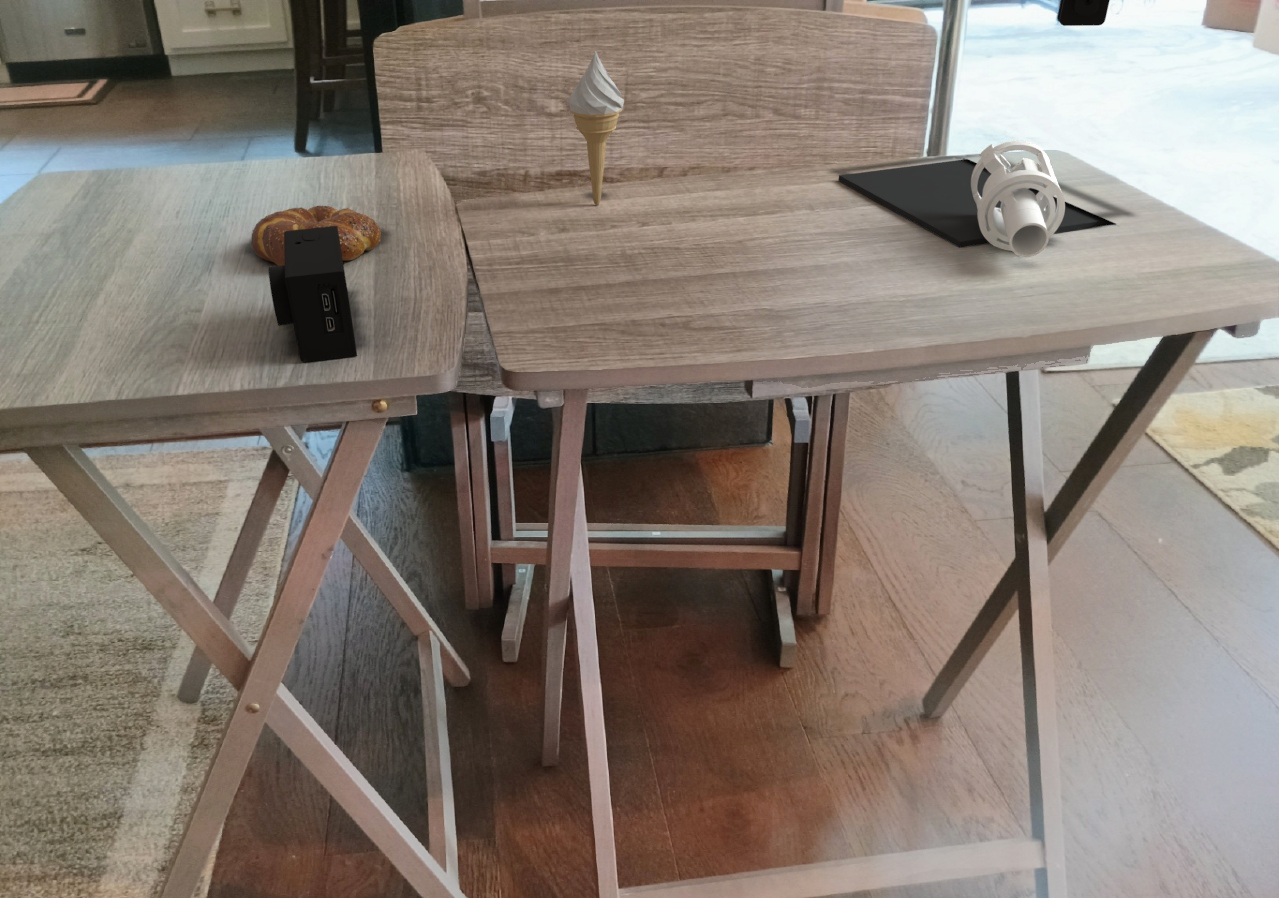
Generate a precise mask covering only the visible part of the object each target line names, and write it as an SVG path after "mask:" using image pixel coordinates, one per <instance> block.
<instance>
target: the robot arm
mask: <svg viewBox="0 0 1279 898" xmlns="http://www.w3.org/2000/svg"><path fill="white" fill-rule="evenodd" d="M1110 1H1111V0H1060V2H1059V7H1058V12H1057V16H1056V18H1057V19H1056V20H1057V21H1058V22H1059V24H1060V25H1062V26H1064V27H1066V26H1067V27H1075V26H1076V27H1078V26H1079V27H1080V26H1081V27H1083V26H1087V27H1089V26H1094V27H1095V26H1102V25H1103V24H1104V23H1105V22H1106V18H1107V14H1108V9H1109V5H1110Z"/></svg>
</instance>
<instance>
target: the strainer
mask: <svg viewBox="0 0 1279 898" xmlns="http://www.w3.org/2000/svg"><path fill="white" fill-rule="evenodd" d="M1013 151H1023V152H1029V153H1031V154H1033V155H1035V156H1036V157H1037V160H1038V162H1036V161H1035V160H1034V159H1031V158H1027V157H1022V160H1021V161H1019V162H1017V163H1016V164H1014V166H1012V165H1011V163H1010V162H1009V161H1008V159H1006V157H1005V156H1003V155H1002V154H1004V153H1009V152H1013ZM980 155H981V157H980V159H979V160H978V161H977V162H976V163H977V164H976V166H975V168H974V170H973V173H972V177H971V190H972V194H973V198H974V200H975V202H976V204H977V209H978V213H977V215H978V222H979V227H980V230H981V232H982V234H983V236H984V237H985V238H986V240H987V241H988V242H990V243H989V244H991V245H992V246H993V247H996V248H998V249H1001V250H1004V251H1010V252H1012V253H1013V254H1014V255H1016V256H1018V257H1021V258H1030V257H1034V256H1036V255H1039V254H1040V253H1042V252H1043V251H1044V250H1045V249H1046V247H1047V246H1048V243H1049V242H1050V241H1049V240H1050V238H1051V237H1052V236H1053V235H1054V234H1055V233H1054V232H1055V231H1056V230H1057V229H1058V227H1059V226H1060V224H1061V222H1062V219H1063V217H1064V213H1065V202H1066V200H1065V197H1064V194H1063V191H1062V189H1061V186H1060V185H1059V182H1058V179H1057V177H1056V174H1055V173H1054V169H1053V166H1052V163H1051V160H1050V158H1049V156H1048V154H1047V153H1046V152H1045V150H1044V149H1043V148H1042V147H1040V146H1039V145H1037V144H1035V143H1034V142H1030V141H1026V140H1010V141H1006V142H1002V143H1000V144H997V145H995V146H994V145H993V144H990V145H988V146H986V148H984V149H983V150H982V151H981V152H980ZM1011 166H1012V168H1011ZM984 167H985V168H986V169H987V170H988V171H989V172H990V173H991V175H990V176H989V178H988V179H987V181H986V183H985V185H984V188H983V193H982V198H981V197H980V195H979V193H978V191H977V184H978V179H979V176H980V174H981V172H982V170H983V169H984ZM1010 168H1011V169H1010ZM1029 188H1033V189H1036V190H1039V192H1038V193H1037V195H1036V196H1035V194H1034V193H1033V192H1032V191H1030V190H1028V189H1029ZM1053 196H1054V197H1056V198H1057V209H1056V206H1055V201H1054V198H1053ZM999 200H1000V201H1001V207H1000V208H996V207H995V206H996V204H997V203H998V201H999ZM1047 205H1048V206H1047ZM1046 207H1047V209H1046ZM1045 209H1046V210H1045ZM1055 210H1056V212H1055Z"/></svg>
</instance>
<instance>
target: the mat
mask: <svg viewBox="0 0 1279 898" xmlns="http://www.w3.org/2000/svg"><path fill="white" fill-rule="evenodd" d="M977 163H978V162H976V161H973V160H971V159H968V158H965V159H964V158H963V159H957V160H949V161H940V162H933V163H925V164H924V163H923V164H918V165H909V166H901V167H893V168H885V169H878V170H870V171H862V172H855V173H853V172H852V173H846V174H839V175H838V180H837V181H838V182H840V183H842V184H844V185H845V186H847V187H849V188H851V189H853V190H855V191H857V192H858V193H859V194H862V195H864V196H866V197H867V198H869V199H870V200H872V201H874V202H876V203H878V204H879V205H882V206H883V207H885V208H887V209H889V210H891V211H892V212H894V213H896V214H898V215H900V216H901V217H903V218H905V219H907V220H909V221H911V222H912V223H914V224H916V225H918V226H920V227H921V228H923V229H925V230H927V231H928V232H930V233H932V234H934V235H936V236H938V237H940V238H941V239H943V240H944V241H947V242H948V243H950V244H952V245H954V246H956V247H958V248H965V247H966V248H967V247H973V246H980V245H986V244H991V243H990V242H988V241H987V240H986V238H985V237H984V236H983V234H982V232H981V230H980V227H979V222H978V215H977V213H978V209H977V204H976V202H975V200H974V198H973V194H972V190H971V177H972V173H973V170H974V168H975V166H976V164H977ZM990 175H991V173H990V172H989V171H988V170H987V169H986V168H985V167H984V169H983V170H982V172H981V174H980V176H979V179H978V184H977V191H978V193H979V195H980V197H981V198H982V193H983V188H984V185H985V183H986V181H987V179H988V178H989V176H990ZM1028 190H1030V191H1032V192H1033V193H1034V194H1035V196H1036V195H1037V193H1038V192H1039V190H1036V189H1033V188H1029V189H1028ZM1053 198H1054V201H1055V206H1056V209H1057V197H1056V196H1055V195H1054V196H1053ZM1047 206H1048V205H1047ZM995 207H996V208H1000V207H1001V201H1000V200H999V201H998V203H997V204H996V206H995ZM1046 209H1047V207H1046ZM1046 209H1045V210H1046ZM1055 212H1056V210H1055ZM1114 225H1117V223H1115V222H1113V221H1111V220H1109V219H1106V218H1104V217H1102V216H1100V215H1097V214H1095V213H1093V212H1090V211H1088V210H1085V209H1083V208H1081V207H1079V206H1077V205H1074V204H1072V203H1069V202H1068V201H1065V213H1064V217H1063V219H1062V222H1061V224H1060V226H1059V227H1058V229H1057V230H1056V231H1055V232H1054V234H1059V233H1065V232H1073V231H1079V230H1087V229H1092V228H1099V227H1106V226H1114Z"/></svg>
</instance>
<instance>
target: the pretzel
mask: <svg viewBox="0 0 1279 898" xmlns="http://www.w3.org/2000/svg"><path fill="white" fill-rule="evenodd" d="M330 226H337V227H338V233H339V239H340V246H341V252H342V259H343V262H345V261H352V260H353V261H354V260H355V259H357V258H360V257H361V255H363V254H364V253H365V251H372V250H373V249H374V248H376V247H377V246H378V245H379V244H380V242H381V238H382V236H381V229H380V227H379V226H378V224H377V222H376V221H375V220H374V219H373V218H371V217H370V216H368V215H367V214H364V213H360V212H358V211H355V210H353V209H351V208H348V207H347V208H342V209H339V210H338V209H337V208H335V207H332V206H329V205H316V206H312V207H310V208H309V209H308V208H305V207H293V208H288V209H285V210H279V211H275V212H273V213H271V214H268V215H266V216H264V217H263V218H261V219H260V220H259V221H258V222H257V223H256V224H255V226H254V227H253V229H252V233H251V239H250V241H251V247H252V249H253V251H254V253H255V254H256V255H257V256H258V257H259V258H261V259H263V260H265V261H268V262H272V263H274V264H275V266H282V265H285V259H284V232H285V231H291V230H301V229H310V228H320V227H330Z"/></svg>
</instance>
